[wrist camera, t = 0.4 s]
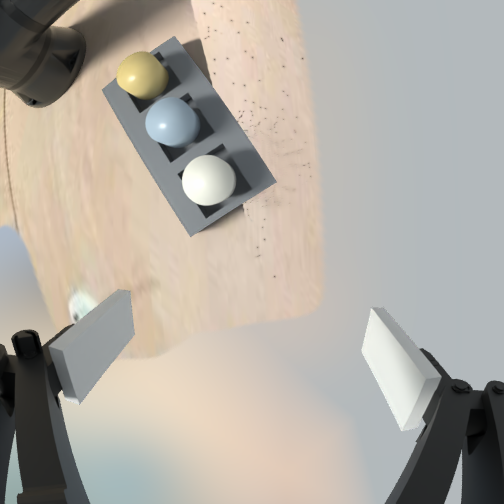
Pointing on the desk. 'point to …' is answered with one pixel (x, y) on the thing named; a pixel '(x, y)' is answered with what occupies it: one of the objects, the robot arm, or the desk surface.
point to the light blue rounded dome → (172, 123)
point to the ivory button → (208, 180)
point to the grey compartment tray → (207, 142)
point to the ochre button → (142, 76)
